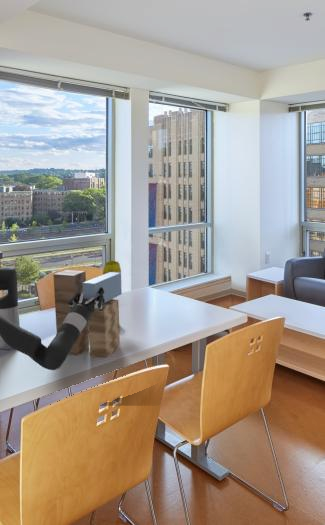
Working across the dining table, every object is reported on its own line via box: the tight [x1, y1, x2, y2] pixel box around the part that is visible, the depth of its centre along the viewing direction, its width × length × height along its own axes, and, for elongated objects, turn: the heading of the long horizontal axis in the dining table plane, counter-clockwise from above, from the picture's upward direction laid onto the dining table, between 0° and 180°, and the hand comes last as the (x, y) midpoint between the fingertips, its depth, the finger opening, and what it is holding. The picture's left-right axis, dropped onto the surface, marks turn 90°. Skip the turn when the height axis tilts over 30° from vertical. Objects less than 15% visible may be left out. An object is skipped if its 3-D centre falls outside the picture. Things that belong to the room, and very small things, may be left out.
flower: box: [102, 260, 122, 275], centre depth 223 cm, size 9×8×30 cm
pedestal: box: [52, 269, 90, 356], centre depth 188 cm, size 9×9×32 cm
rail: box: [83, 272, 123, 303], centre depth 185 cm, size 22×5×9 cm, turn 158°
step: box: [88, 298, 121, 358], centre depth 187 cm, size 12×7×20 cm, turn 158°
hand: (95, 288), depth 179 cm, fingers closed on rail, 5 cm apart
